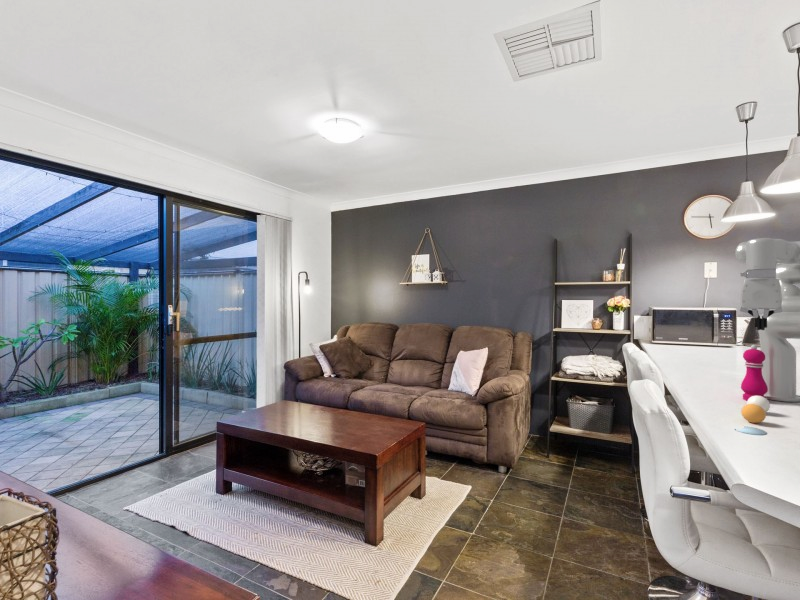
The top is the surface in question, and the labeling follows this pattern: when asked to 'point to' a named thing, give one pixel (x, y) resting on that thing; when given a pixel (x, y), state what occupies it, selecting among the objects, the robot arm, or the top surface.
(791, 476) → the top surface
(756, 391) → the pepper mill
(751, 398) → the cue ball
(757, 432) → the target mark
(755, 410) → the object ball
